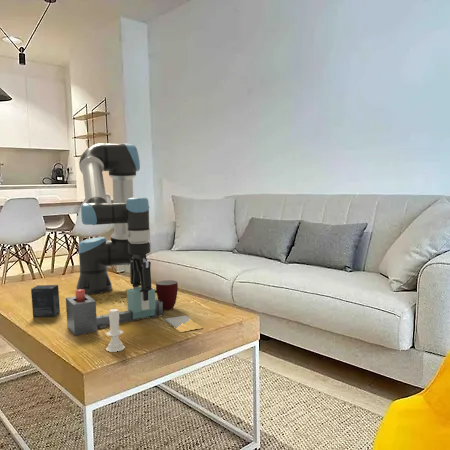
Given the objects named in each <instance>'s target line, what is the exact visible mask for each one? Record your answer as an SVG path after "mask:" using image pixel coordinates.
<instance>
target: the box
mask: <svg viewBox="0 0 450 450" xmlns="http://www.w3.org/2000/svg"><path fill="white" fill-rule="evenodd" d="M30 291H31V292H30V293H31V305H32V308H31V309H32V318H42V317H43V318H47V317H49V318H50V317H55V316H57V315H58V314H60V313H61V309H60V293H59V292H60V291H59V284H41V285H36V286H34V287H32V288H30Z"/></svg>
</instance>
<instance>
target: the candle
mask: <svg viewBox="0 0 450 450" xmlns="http://www.w3.org/2000/svg"><path fill="white" fill-rule="evenodd" d="M119 312H120V311H119V309H117V308H111V309H109V312H108V314H109V320H110V325H109V331H107V332H106V335H107V336H108V337H110V341H109V342H108V345H107V347H106V348H105V350H106V352H108V351H109V352H110V353H116V352H117V351H118V352H121V351H123V350H124V348H125V349H126V346H125V345H123V342H122V341H121V340H120V338H119V336H121V335H122V334H123V333H124V331H123V330H121V329H120V323H119ZM118 352H117V353H118Z"/></svg>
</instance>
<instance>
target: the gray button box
mask: <svg viewBox="0 0 450 450" xmlns="http://www.w3.org/2000/svg"><path fill="white" fill-rule="evenodd" d="M65 305H66V306H65V309H66V310H65V311H66V324H67V325H66V327H67V329H69V331H70V332H71V333H72V334H73V335H74V336H80V335H85V334H90V333H97V332H98V327H97V317H96V316H97V301H96V300H95V299H94V298H92V297H91V296H90V295H89V294H85V300H84V301H77V302H76V295H75V296H69V297H65Z"/></svg>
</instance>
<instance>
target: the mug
mask: <svg viewBox="0 0 450 450" xmlns="http://www.w3.org/2000/svg"><path fill="white" fill-rule="evenodd" d="M178 289H179V285H178V281H177V280H172V279H169V280H159V281H156V282H155V294H156V296H157V300H160V301H162V302H163V311H170V309H171V310H173V308H174V307H175V305H176V302H177V299H178V291H179V290H178Z"/></svg>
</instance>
